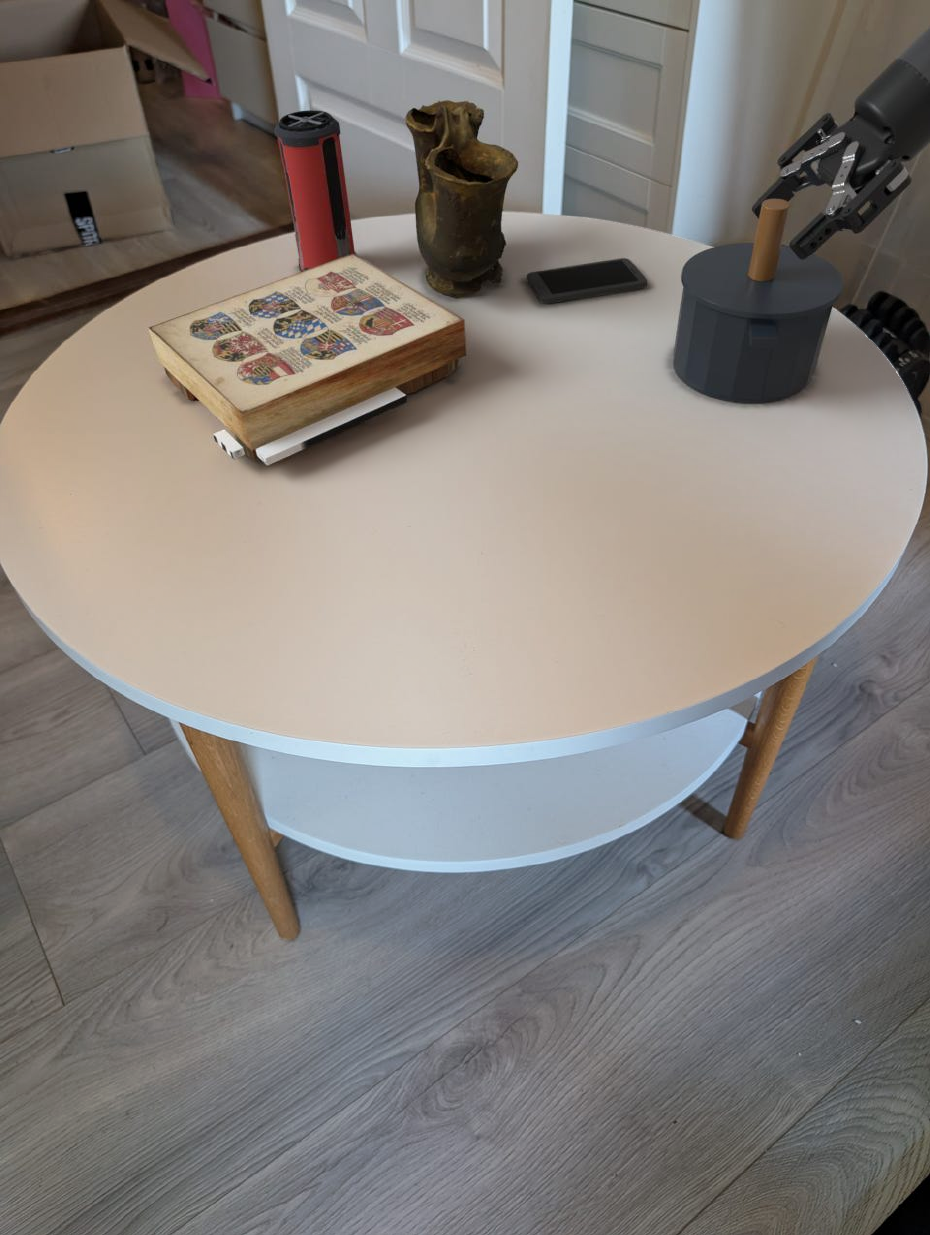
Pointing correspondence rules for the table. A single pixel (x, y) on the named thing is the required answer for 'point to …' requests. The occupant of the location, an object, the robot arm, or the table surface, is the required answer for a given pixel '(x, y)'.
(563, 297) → the cell phone
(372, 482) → the table surface
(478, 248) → the pottery vessel
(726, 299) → the lid
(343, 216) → the speaker
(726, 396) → the pot
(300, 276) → the book
